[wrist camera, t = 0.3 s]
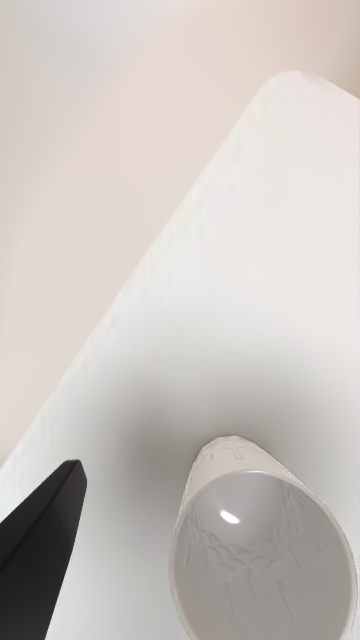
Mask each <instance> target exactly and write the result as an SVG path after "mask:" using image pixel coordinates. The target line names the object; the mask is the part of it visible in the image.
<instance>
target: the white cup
mask: <svg viewBox="0 0 360 640" xmlns="http://www.w3.org/2000/svg"><path fill="white" fill-rule="evenodd" d="M169 579H170V587H171V592H172V596H173V600H174V604H175V607H176V610H177V613H178V615H179V618H180V620H181V622H182V624H183V626H184V628H185V630H186V632H187V634H188V635H189V637H190V638H191V640H348V637H349V635H350V633H351V630H352V627H353V623H354V619H355V615H356V609H357V599H358V584H357V574H356V568H355V563H354V559H353V555H352V552H351V549H350V546H349V543H348V541H347V538H346V536H345V534H344V532H343V530H342V528H341V526H340V525H339V523H338V521H337V520H336V518H335V517H334V515H333V514H332V512H331V511H330V510H329V508H328V507H327V506H326V505H325V504H324V503H323V502H322V501H321V499H320V498H319V497H318V496H316V495H315V494H314V493H313V492H312V491H311V490H310V489H309V488H307V487H306V486H305V485H304V484H303V483H302V482H301V481H300V480H299V479H297V478H296V477H295V476H294V475H293V474H292V473H291V472H290V471H289V470H288V469H286V468H285V467H284V466H283V465H282V464H281V463H280V462H278V461H277V460H276V459H274V458H273V457H272V456H271V455H270V454H268V453H267V452H266V451H264V450H263V449H261V448H259V447H258V446H257V445H256V444H255V443H254V442H251V441H249V440H246V439H244V438H241V437H239V436H225V437H217V438H216V439H214V440H213V441H211V442H210V443H208V444H207V445H205V446H204V447H202V449H201V451H200V452H199V454H198V456H197V457H196V459H195V461H194V463H193V465H192V469H191V471H190V474H189V476H188V479H187V483H186V486H185V489H184V493H183V497H182V501H181V505H180V509H179V513H178V516H177V520H176V524H175V528H174V532H173V535H172V539H171V545H170V552H169Z"/></svg>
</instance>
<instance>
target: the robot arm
mask: <svg viewBox="0 0 360 640" xmlns="http://www.w3.org/2000/svg"><path fill="white" fill-rule="evenodd" d="M86 488H87V478H86V475H85V472H84V469H83V466H82V463H81V461H80V460H78V459H76V460H67V461H65V462H63V463H62V464H61V465H60V466H59V467H58V468H57V469H56V470H55V471H54V472H53V473H52V474H51V475H50V476H49V477H48V478H47V479H46V480H44V481H43V482H42V483H41V484H40V485H39V486H38V487H37V488H36V489H35V490H34V491H33V492H32V493H31V494H30V495H29V496H28V497H27V498H26V499H25V500H24V501H23V502H22V503H21V504H20V505H19V506H17V507H16V508H15V509H14V510H13V511H12V512H11V513H10V514H9V515H8V516H7V517H6V518H5V519H4V520H3V521H2V522H1V523H0V640H45V637H46V634H47V631H48V628H49V624H50V621H51V618H52V615H53V612H54V608H55V605H56V602H57V599H58V596H59V592H60V589H61V586H62V583H63V580H64V576H65V573H66V570H67V567H68V564H69V560H70V557H71V554H72V550H73V546H74V542H75V538H76V534H77V529H78V525H79V520H80V515H81V511H82V506H83V502H84V497H85V493H86Z"/></svg>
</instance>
